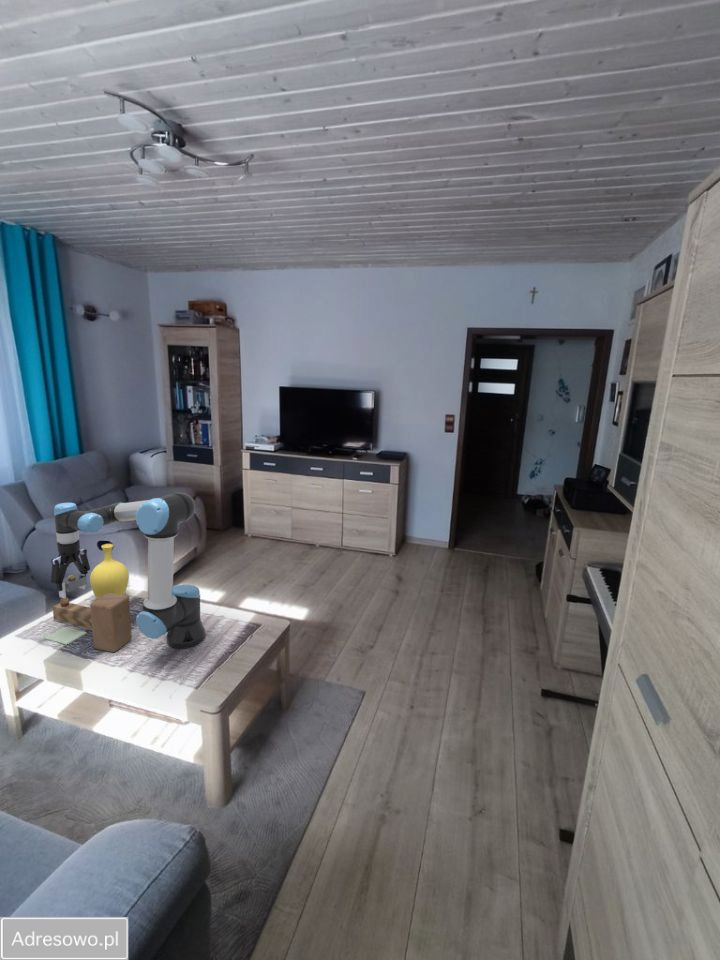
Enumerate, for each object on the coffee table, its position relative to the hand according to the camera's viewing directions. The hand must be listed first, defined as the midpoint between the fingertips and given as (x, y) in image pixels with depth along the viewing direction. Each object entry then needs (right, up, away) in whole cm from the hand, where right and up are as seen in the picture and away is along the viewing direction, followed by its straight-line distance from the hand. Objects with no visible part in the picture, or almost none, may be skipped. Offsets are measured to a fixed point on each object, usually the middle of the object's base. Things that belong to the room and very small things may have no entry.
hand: (72, 592), depth 178 cm
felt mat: (-3, -18, -1) cm, 18 cm away
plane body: (-2, -16, +9) cm, 18 cm away
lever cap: (0, +3, 0) cm, 3 cm away
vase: (-2, -12, +30) cm, 32 cm away
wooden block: (+19, -20, -4) cm, 28 cm away
